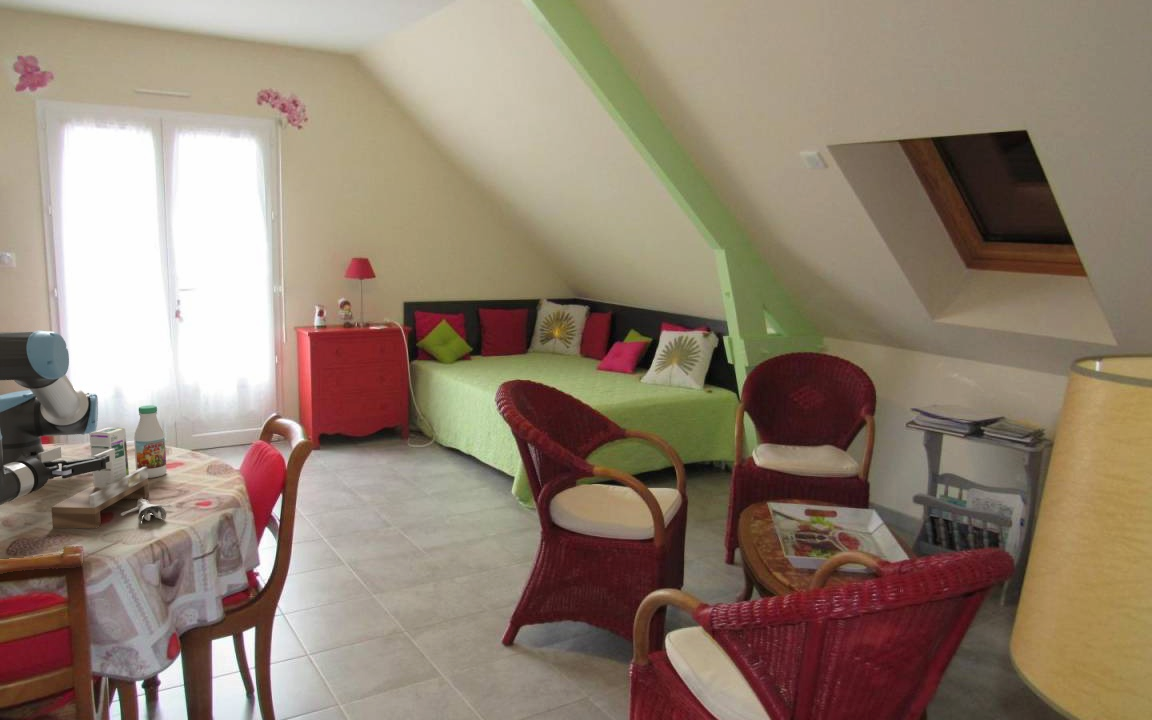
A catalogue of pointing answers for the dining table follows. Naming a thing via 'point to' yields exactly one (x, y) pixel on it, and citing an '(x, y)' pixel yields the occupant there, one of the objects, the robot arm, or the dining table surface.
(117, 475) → the syrup box
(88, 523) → the shelf
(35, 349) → the robot arm
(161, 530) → the dining table surface
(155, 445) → the milk bottle
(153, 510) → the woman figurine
